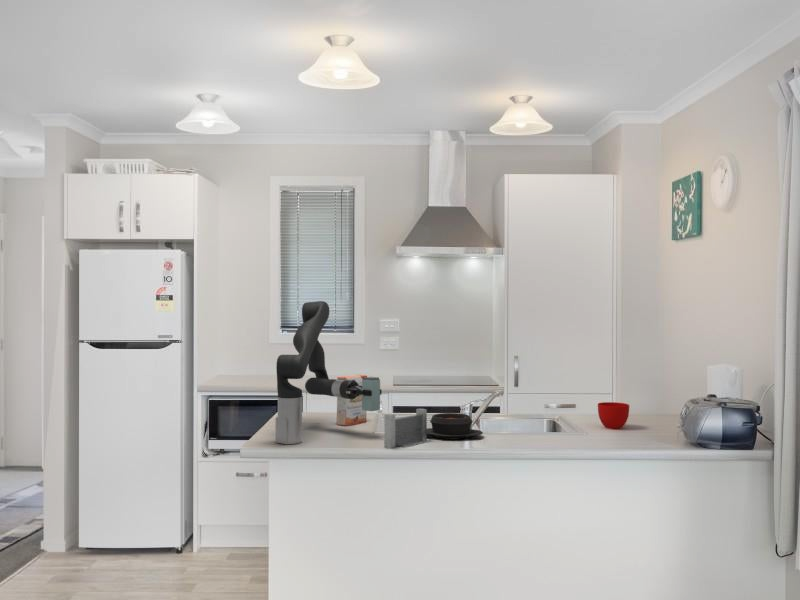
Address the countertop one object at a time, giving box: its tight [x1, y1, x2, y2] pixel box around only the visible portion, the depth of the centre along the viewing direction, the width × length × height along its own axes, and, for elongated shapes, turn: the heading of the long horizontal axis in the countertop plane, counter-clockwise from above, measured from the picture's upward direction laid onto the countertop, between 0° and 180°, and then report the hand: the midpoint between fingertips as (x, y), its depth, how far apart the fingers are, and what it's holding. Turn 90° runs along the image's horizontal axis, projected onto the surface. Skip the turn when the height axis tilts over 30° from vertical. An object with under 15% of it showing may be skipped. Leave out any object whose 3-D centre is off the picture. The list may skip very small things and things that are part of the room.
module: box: [362, 376, 381, 412], centre depth 300 cm, size 5×5×13 cm
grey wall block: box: [383, 408, 429, 449], centre depth 286 cm, size 21×6×12 cm, turn 139°
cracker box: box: [336, 374, 368, 427], centre depth 332 cm, size 14×6×21 cm, turn 143°
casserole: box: [427, 412, 484, 440], centre depth 302 cm, size 25×19×8 cm
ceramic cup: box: [597, 401, 630, 430], centre depth 326 cm, size 13×17×10 cm
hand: (376, 392), depth 298 cm, fingers closed on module, 5 cm apart
